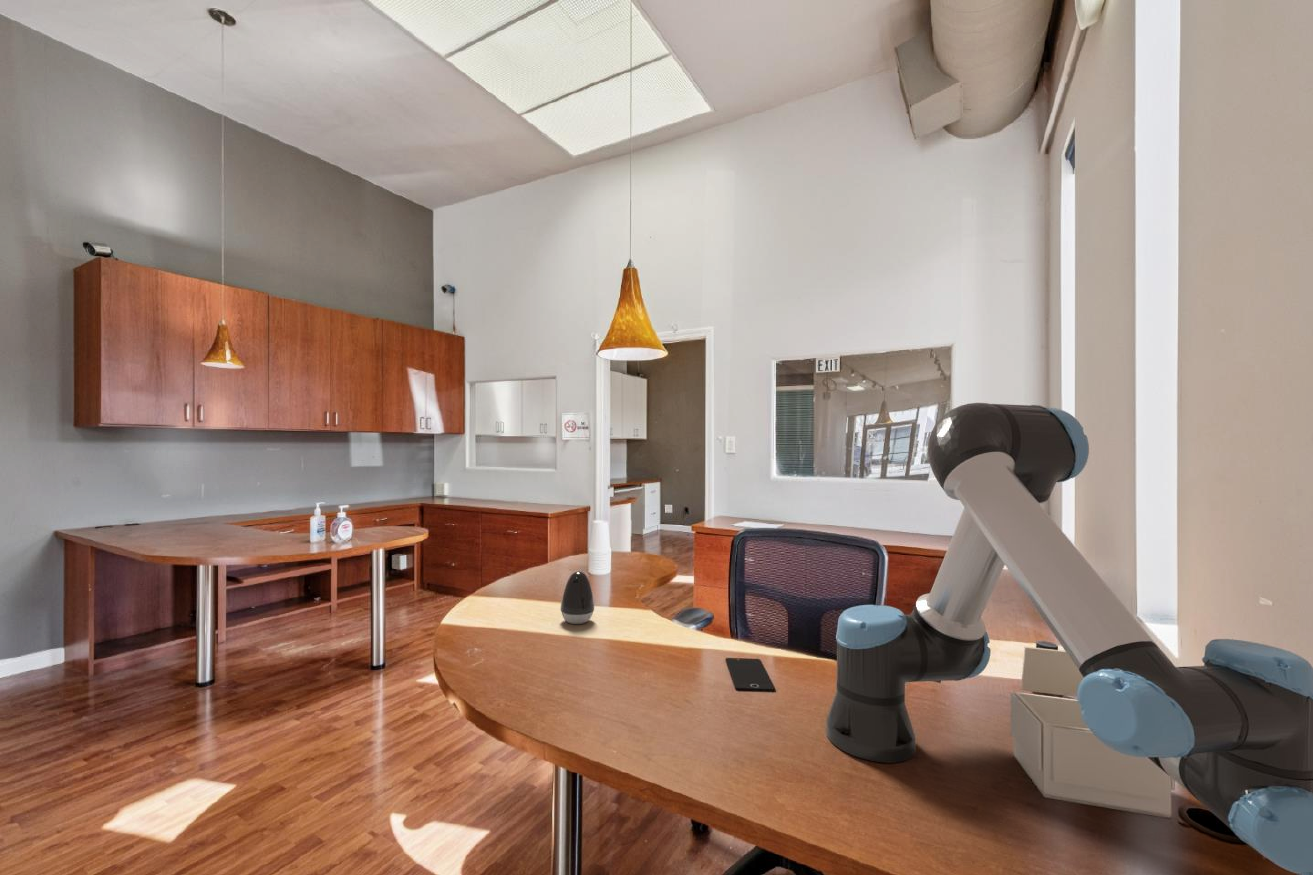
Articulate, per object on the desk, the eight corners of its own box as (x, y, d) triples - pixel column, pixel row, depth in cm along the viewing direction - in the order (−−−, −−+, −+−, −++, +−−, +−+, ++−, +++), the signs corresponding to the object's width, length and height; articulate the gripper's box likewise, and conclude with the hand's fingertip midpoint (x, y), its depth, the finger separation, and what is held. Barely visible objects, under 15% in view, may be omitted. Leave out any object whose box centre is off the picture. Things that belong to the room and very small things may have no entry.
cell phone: (735, 692, 117) (735, 687, 117) (725, 661, 135) (725, 657, 135) (775, 693, 117) (775, 689, 117) (760, 662, 135) (760, 658, 135)
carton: (1041, 798, 81) (1041, 725, 82) (1009, 755, 93) (1009, 691, 94) (1179, 822, 77) (1178, 744, 77) (1127, 773, 89) (1127, 705, 89)
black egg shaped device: (554, 625, 158) (556, 574, 158) (566, 615, 168) (568, 567, 169) (588, 628, 156) (589, 576, 157) (597, 618, 166) (599, 569, 167)
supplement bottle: (1028, 694, 119) (1028, 642, 119) (1032, 686, 123) (1032, 636, 124) (1061, 703, 115) (1061, 649, 115) (1064, 694, 119) (1064, 643, 120)
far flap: (1025, 647, 92) (1024, 646, 92) (1021, 689, 93) (1020, 688, 93) (1122, 657, 88) (1121, 656, 88) (1117, 701, 89) (1116, 700, 90)
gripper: (1126, 775, 65) (1042, 694, 87) (1262, 797, 61) (1138, 706, 84) (1126, 713, 65) (1042, 648, 88) (1261, 730, 61) (1138, 658, 84)
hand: (1089, 676), depth 86 cm, fingers closed
